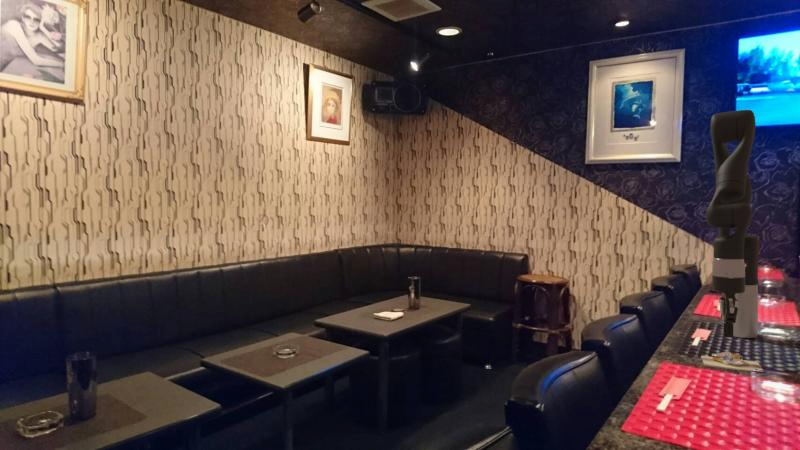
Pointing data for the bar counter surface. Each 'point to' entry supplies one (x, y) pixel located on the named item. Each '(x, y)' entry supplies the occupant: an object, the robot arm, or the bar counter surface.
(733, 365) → the birch board
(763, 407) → the bar counter surface
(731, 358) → the ring
